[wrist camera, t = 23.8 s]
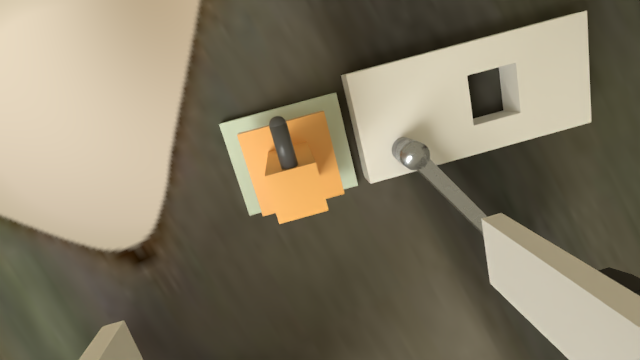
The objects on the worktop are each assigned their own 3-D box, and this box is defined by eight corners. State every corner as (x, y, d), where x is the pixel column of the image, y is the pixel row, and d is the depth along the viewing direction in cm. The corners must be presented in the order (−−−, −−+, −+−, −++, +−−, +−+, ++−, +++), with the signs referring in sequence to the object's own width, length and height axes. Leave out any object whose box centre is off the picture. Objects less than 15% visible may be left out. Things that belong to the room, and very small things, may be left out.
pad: (250, 212, 40) (249, 215, 39) (220, 123, 37) (219, 124, 36) (356, 182, 40) (358, 185, 39) (334, 92, 38) (336, 92, 37)
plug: (264, 201, 39) (258, 259, 26) (237, 114, 36) (215, 133, 24) (337, 181, 39) (365, 229, 27) (315, 93, 36) (334, 101, 24)
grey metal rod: (390, 153, 35) (396, 157, 33) (409, 133, 35) (416, 136, 33) (518, 277, 40) (530, 287, 39) (535, 260, 40) (548, 269, 38)
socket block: (363, 176, 40) (373, 187, 36) (340, 75, 37) (348, 74, 33) (569, 119, 41) (601, 123, 37) (563, 15, 38) (598, 8, 34)
